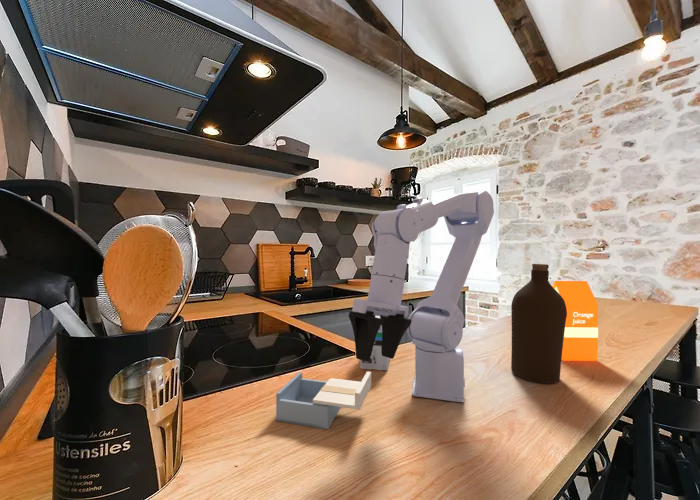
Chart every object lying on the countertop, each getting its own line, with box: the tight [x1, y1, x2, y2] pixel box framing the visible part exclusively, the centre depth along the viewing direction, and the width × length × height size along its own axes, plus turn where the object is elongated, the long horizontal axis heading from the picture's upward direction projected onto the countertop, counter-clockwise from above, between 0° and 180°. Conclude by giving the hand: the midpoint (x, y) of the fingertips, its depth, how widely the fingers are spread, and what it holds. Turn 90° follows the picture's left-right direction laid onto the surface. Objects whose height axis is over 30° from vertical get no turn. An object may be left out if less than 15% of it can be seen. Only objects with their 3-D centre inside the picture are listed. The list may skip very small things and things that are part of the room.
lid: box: [313, 371, 372, 411], centre depth 53 cm, size 8×9×2 cm
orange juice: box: [551, 280, 599, 362], centre depth 83 cm, size 8×9×20 cm
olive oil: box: [510, 263, 567, 384], centre depth 70 cm, size 11×11×25 cm
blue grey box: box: [275, 371, 342, 431], centre depth 55 cm, size 9×9×5 cm
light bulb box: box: [359, 315, 391, 371], centre depth 78 cm, size 11×7×11 cm, turn 168°
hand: (375, 358), depth 52 cm, fingers open, 7 cm apart
